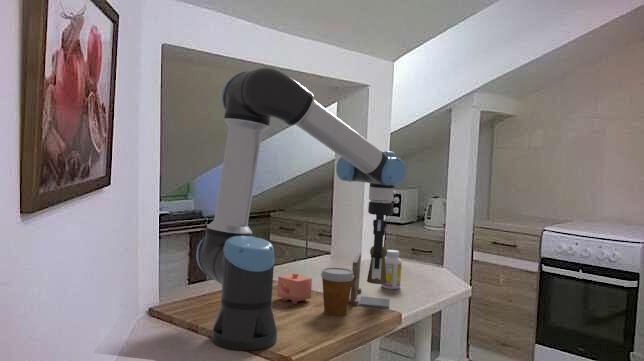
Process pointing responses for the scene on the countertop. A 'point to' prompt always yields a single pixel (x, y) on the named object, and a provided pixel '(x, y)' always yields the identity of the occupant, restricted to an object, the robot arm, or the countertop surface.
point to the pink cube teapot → (294, 287)
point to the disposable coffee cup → (336, 290)
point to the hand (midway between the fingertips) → (376, 276)
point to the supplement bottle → (392, 270)
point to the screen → (355, 280)
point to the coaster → (374, 302)
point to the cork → (383, 268)
